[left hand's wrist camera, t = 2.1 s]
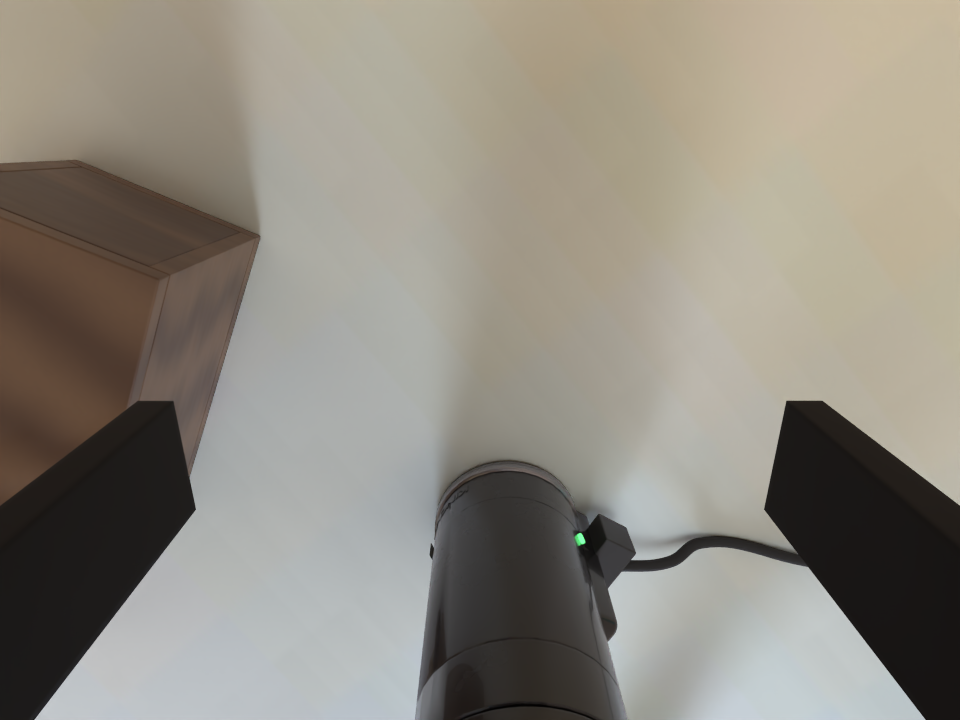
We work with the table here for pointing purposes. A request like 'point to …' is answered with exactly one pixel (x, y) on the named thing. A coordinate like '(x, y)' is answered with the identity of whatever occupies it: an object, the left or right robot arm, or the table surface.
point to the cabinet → (106, 309)
